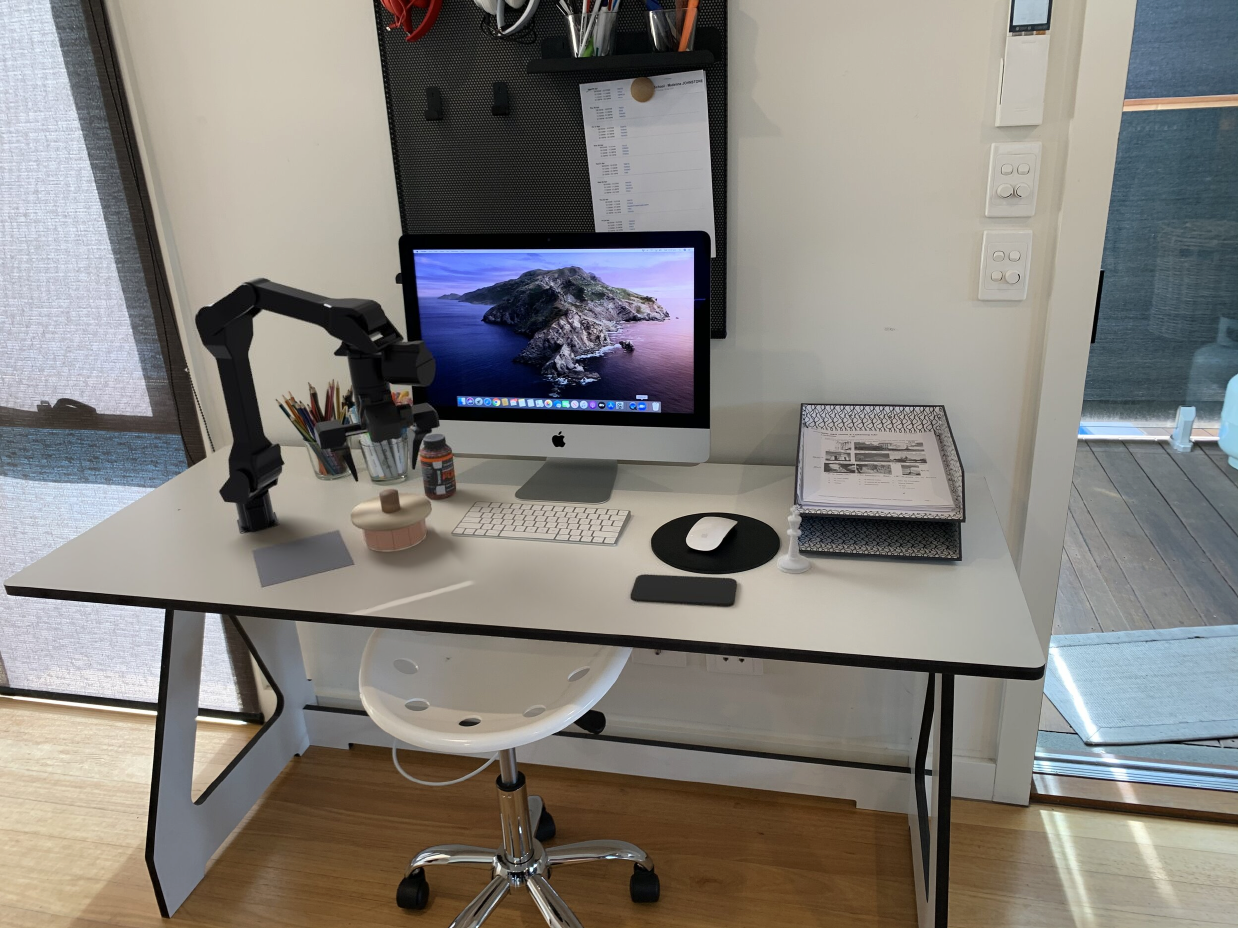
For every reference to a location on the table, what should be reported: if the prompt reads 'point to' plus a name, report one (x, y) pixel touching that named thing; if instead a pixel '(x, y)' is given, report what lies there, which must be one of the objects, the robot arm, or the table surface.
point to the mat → (301, 558)
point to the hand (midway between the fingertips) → (385, 474)
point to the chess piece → (793, 548)
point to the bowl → (395, 538)
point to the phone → (684, 590)
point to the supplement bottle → (437, 467)
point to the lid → (391, 511)
